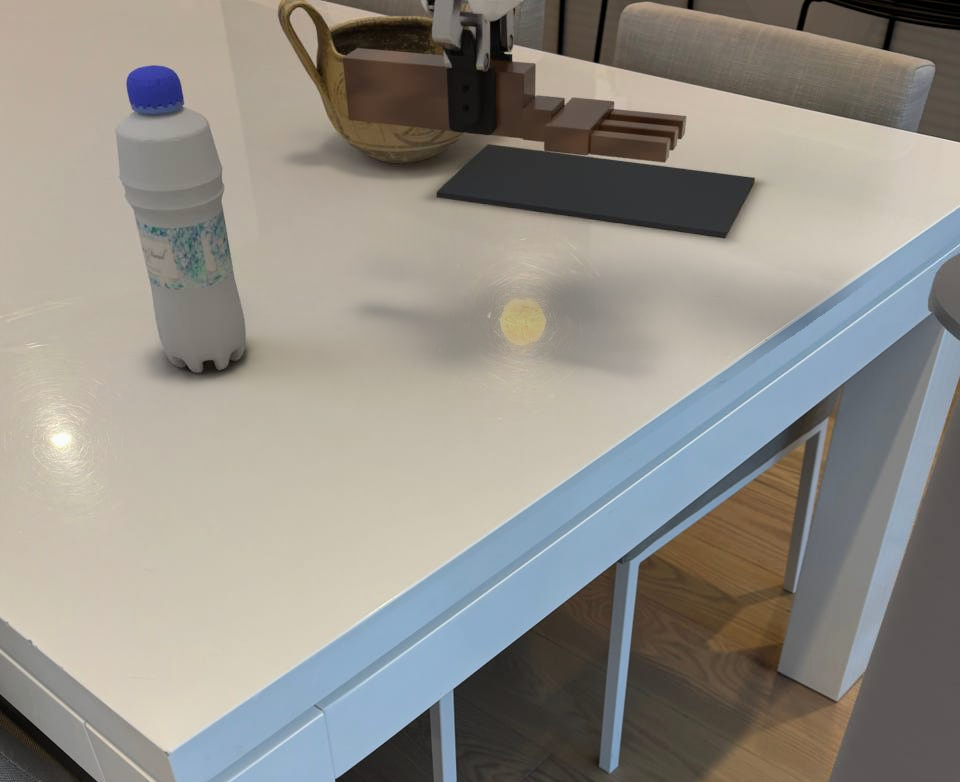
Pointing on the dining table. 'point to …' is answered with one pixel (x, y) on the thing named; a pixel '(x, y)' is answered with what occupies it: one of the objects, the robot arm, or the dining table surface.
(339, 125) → the ceramic bowl
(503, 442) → the dining table surface
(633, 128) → the fork
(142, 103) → the bottle
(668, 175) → the place mat
